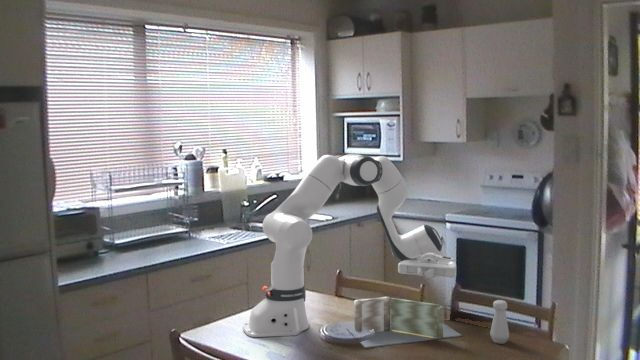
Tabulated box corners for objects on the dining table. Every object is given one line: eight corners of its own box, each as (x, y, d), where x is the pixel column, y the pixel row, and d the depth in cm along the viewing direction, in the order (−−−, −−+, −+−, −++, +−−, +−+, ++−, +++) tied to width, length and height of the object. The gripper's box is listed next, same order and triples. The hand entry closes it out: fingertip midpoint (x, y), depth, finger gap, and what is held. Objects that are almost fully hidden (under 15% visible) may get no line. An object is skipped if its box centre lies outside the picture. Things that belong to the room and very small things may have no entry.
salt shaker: (499, 345, 189) (499, 304, 188) (486, 340, 194) (486, 300, 193) (513, 342, 192) (513, 302, 190) (499, 336, 197) (500, 297, 196)
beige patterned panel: (356, 335, 199) (355, 301, 198) (353, 332, 202) (353, 299, 201) (391, 330, 203) (391, 298, 202) (388, 328, 205) (388, 296, 204)
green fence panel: (390, 330, 202) (390, 298, 201) (392, 328, 204) (392, 297, 203) (442, 339, 193) (442, 306, 192) (444, 337, 194) (444, 305, 193)
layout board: (365, 348, 189) (365, 346, 189) (346, 329, 206) (346, 327, 206) (461, 336, 198) (461, 334, 198) (435, 319, 215) (435, 317, 215)
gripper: (401, 254, 225) (393, 262, 211) (458, 258, 218) (454, 267, 205) (401, 271, 225) (393, 280, 212) (458, 276, 218) (453, 285, 205)
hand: (423, 273), depth 208 cm, fingers closed
